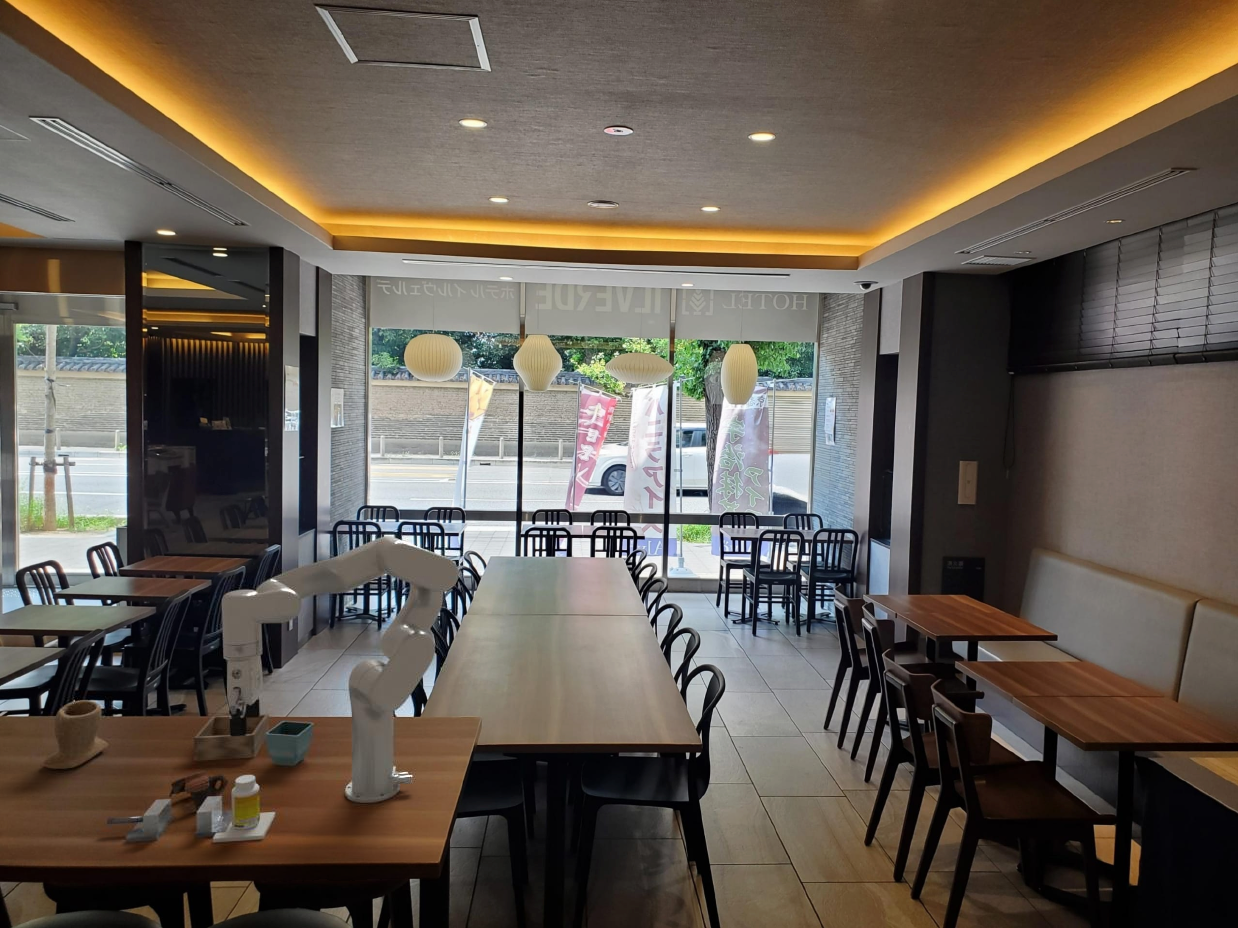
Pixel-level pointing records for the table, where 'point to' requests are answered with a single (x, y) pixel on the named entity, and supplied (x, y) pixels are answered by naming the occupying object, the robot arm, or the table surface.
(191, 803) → the pottery mug
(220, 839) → the white coaster
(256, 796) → the supplement bottle
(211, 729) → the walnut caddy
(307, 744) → the flower pot
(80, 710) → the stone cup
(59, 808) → the table surface
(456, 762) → the table surface
